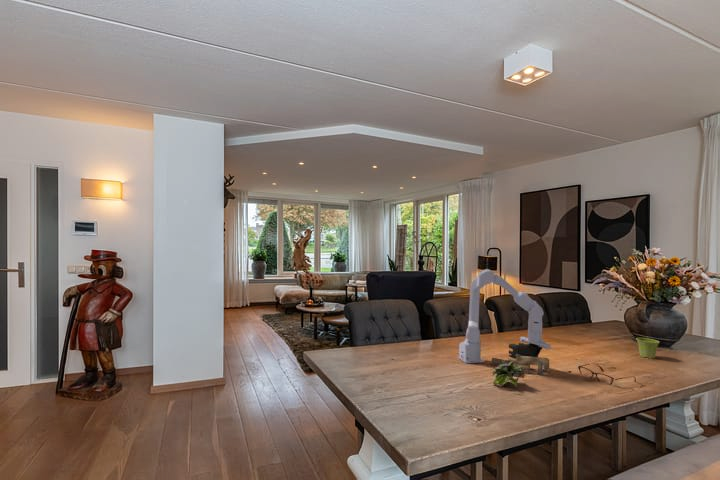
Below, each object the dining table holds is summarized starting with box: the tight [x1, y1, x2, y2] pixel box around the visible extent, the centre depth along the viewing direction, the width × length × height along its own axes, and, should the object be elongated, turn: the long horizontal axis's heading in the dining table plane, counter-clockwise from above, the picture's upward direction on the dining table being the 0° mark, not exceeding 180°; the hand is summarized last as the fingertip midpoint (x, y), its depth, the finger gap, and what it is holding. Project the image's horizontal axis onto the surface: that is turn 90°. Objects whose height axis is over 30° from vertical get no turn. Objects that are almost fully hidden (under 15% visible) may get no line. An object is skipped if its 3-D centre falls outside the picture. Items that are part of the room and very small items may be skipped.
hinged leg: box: [515, 354, 550, 372], centre depth 153 cm, size 14×3×6 cm, turn 80°
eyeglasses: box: [577, 363, 637, 386], centre depth 146 cm, size 16×16×4 cm
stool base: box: [490, 357, 548, 378], centre depth 154 cm, size 22×22×6 cm
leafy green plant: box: [491, 359, 524, 390], centre depth 134 cm, size 11×11×12 cm
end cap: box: [508, 342, 531, 360], centre depth 170 cm, size 10×7×7 cm
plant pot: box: [635, 337, 660, 360], centre depth 178 cm, size 9×9×9 cm
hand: (534, 361), depth 155 cm, fingers closed
